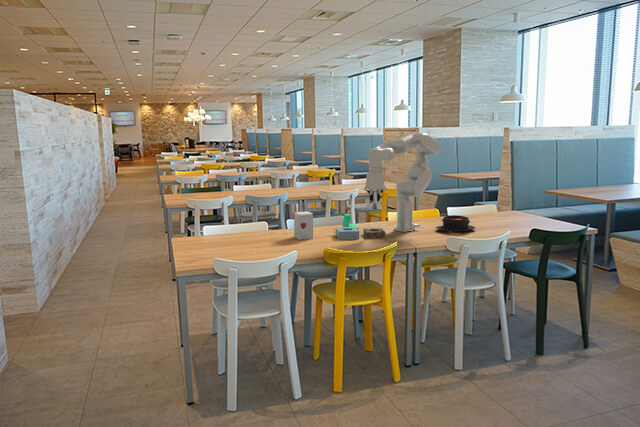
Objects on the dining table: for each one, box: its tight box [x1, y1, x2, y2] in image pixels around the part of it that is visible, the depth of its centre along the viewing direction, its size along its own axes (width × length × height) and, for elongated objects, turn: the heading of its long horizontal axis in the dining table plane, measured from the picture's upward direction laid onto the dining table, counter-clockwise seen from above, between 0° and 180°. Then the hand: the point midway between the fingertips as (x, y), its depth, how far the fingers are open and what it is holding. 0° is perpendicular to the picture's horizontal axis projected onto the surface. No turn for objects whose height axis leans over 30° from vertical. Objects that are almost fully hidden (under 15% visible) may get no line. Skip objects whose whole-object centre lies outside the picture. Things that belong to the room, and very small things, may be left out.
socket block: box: [335, 226, 360, 240], centre depth 288 cm, size 12×12×4 cm
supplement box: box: [293, 211, 314, 241], centre depth 285 cm, size 9×9×15 cm
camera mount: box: [342, 213, 360, 231], centre depth 306 cm, size 12×8×10 cm, turn 10°
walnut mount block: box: [363, 227, 386, 239], centre depth 289 cm, size 11×11×4 cm
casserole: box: [435, 214, 476, 233], centre depth 302 cm, size 25×19×8 cm
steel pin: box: [371, 189, 379, 210], centre depth 286 cm, size 3×3×11 cm
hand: (374, 200), depth 286 cm, fingers closed on steel pin, 3 cm apart
